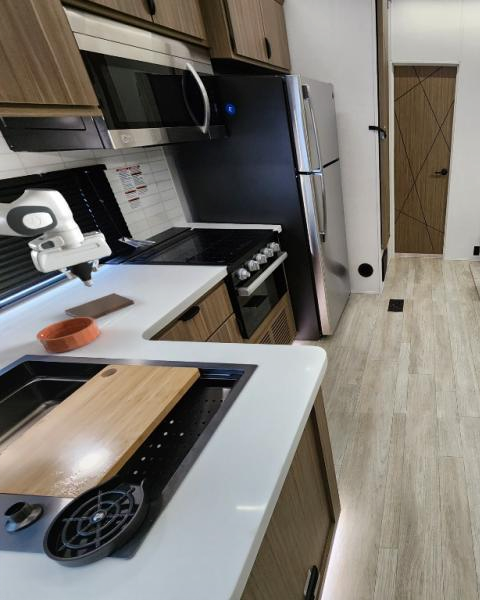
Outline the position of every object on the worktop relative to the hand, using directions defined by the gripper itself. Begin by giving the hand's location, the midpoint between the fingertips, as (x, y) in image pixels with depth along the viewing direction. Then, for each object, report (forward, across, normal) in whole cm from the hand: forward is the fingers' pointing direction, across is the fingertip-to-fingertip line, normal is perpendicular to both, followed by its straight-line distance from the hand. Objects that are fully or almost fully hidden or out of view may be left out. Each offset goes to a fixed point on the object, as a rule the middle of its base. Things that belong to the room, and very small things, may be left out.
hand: (84, 274), depth 118 cm
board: (+14, 0, 0) cm, 14 cm away
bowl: (+14, +15, +17) cm, 27 cm away
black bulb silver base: (+5, 0, 0) cm, 5 cm away
